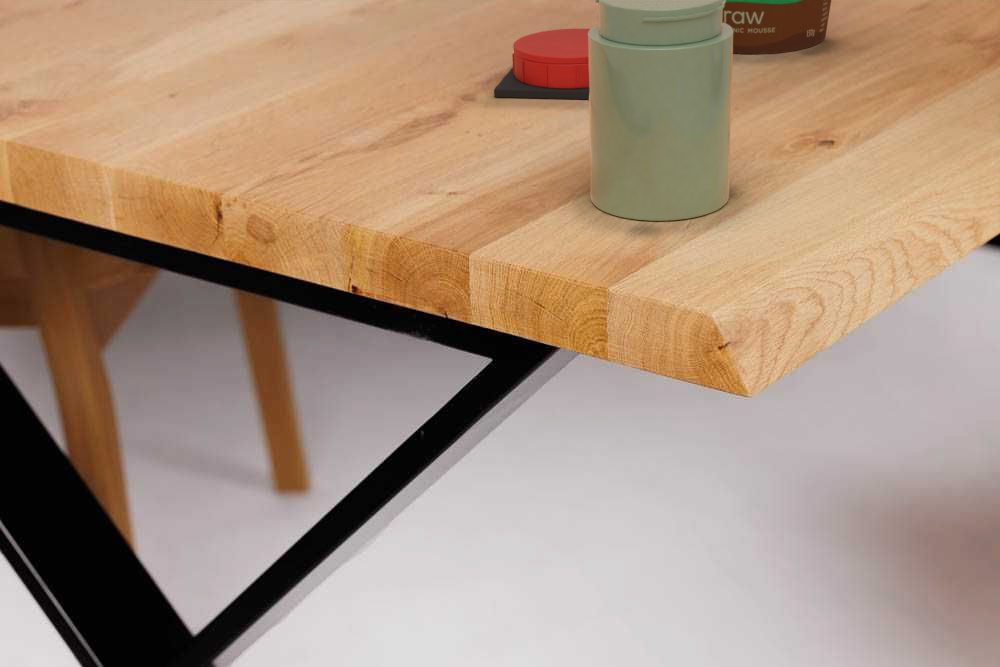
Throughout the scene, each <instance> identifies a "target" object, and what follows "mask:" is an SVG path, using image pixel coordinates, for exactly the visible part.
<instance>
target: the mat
mask: <svg viewBox="0 0 1000 667" xmlns="http://www.w3.org/2000/svg"><path fill="white" fill-rule="evenodd" d="M493 97H494V98H509V99H510V98H511V99H512V98H514V99H515V98H516V99H520V98H521V99H551V100H552V99H555V100H556V99H557V100H589V88H581V89H553V88H543V87H537V86H532V85H528V84H525V83H523V82H521V81H519V80H517V78H516V77H515V75H513V67H512V68H511V69H510V70H509V71H508V72H507V74H505V76H504V77H503V78H502V80H500V81H499V83H498V84H497V85H496V86H495V87H494V89H493Z"/></svg>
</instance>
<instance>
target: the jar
mask: <svg viewBox="0 0 1000 667" xmlns="http://www.w3.org/2000/svg"><path fill="white" fill-rule="evenodd" d="M595 4H597V6H598V8H597V9H598V10H597V12H598V15H597V17H598V24H596V25H594V26H592V27H591V28H589V29H590V30H589V32H588V78H589V99H588V127H589V130H588V132H589V134H588V135H589V137H588V138H589V189H590V191H589V193H590V194H589V196H590V201H591V203H592V205H594V206H595V207H596V208H597V209H599V210H601V211H602V212H604V213H607V214H608V215H611V216H616V217H619V218H624V219H628V220H629V219H630V220H638V221H649V222H668V221H679V220H680V221H682V220H689V219H694V218H697V217H698V218H699V217H702V216H706V215H709V214H712V213H713V212H716V211H718V210H720V209H721V208H723V207H724V206H725V205H726V204H727V203H728V201H729V199H730V177H731V145H732V144H731V143H732V142H731V141H732V107H733V106H732V104H733V103H732V102H733V101H732V100H733V69H734V68H733V66H734V64H733V63H734V53H733V33H734V31H733V29H732V27H731V26H730V25H728V24H726V23H724V22H723V8H724V6H725V4H726V0H595Z"/></svg>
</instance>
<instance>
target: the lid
mask: <svg viewBox="0 0 1000 667" xmlns="http://www.w3.org/2000/svg"><path fill="white" fill-rule="evenodd" d="M590 29H591V28H560V29H551V30H550V29H549V30H543V31H538V32H533V33H530V34H527V35H524V36H522V37H519V38H518V39H516V40H515V41H514V43H513V44H512V45H513V46H512V47H513V53H512V68H513V75H515V77H516V78H517V80H519V81H521V82H523V83H525V84H528V85H532V86H537V87H543V88H553V89H581V88H589V78H588V32H589V30H590Z"/></svg>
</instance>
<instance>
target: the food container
mask: <svg viewBox="0 0 1000 667" xmlns="http://www.w3.org/2000/svg"><path fill="white" fill-rule="evenodd" d="M831 4H832V0H726V4H725V6H724V8H723V22H724V23H726V24H728V25H730V26H731V27H732V29H733V31H734V33H733V54H742V55H761V54H762V55H763V54H765V55H766V54H779V53H786V52H795V51H799V50H803V49H807V48H810V47H813V46H816V45H818V44H820V43H822V42H823V41H824V40H825V38H826V35H827V29H828V23H829V17H830V12H831Z"/></svg>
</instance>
